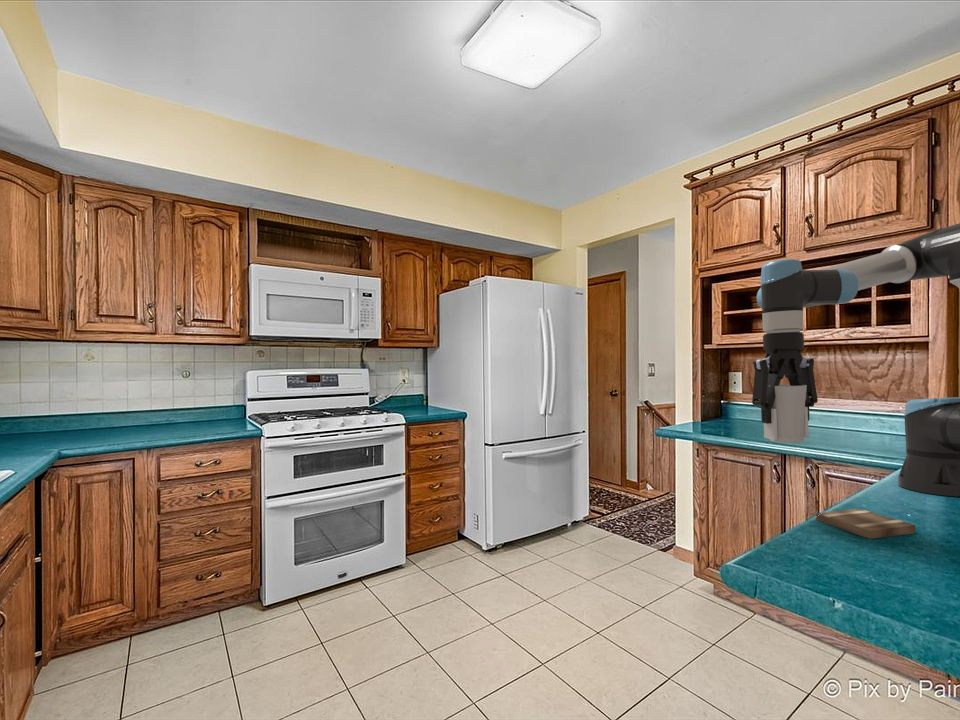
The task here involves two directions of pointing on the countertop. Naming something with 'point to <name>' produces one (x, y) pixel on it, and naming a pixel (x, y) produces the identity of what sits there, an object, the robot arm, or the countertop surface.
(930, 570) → the countertop surface
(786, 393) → the cup
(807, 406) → the robot arm
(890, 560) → the countertop surface
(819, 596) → the countertop surface
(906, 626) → the countertop surface
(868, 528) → the striped wooden coaster
